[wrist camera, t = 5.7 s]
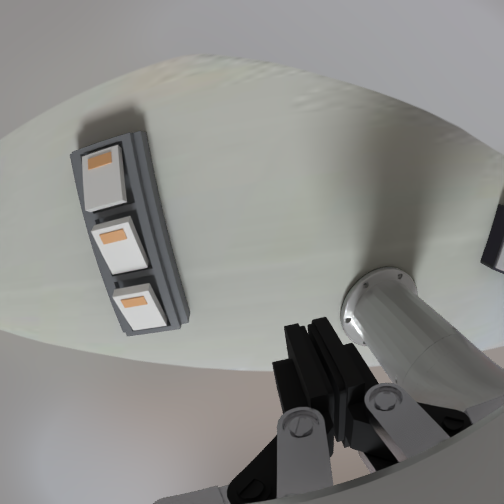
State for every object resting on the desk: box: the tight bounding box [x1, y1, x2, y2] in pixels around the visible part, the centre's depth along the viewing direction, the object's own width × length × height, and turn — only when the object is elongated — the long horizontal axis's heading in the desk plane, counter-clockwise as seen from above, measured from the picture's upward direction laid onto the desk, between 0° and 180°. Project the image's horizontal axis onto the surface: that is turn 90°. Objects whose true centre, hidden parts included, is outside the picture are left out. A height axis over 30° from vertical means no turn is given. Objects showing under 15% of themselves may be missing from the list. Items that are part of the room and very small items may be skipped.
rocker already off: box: [113, 283, 167, 330], centre depth 33 cm, size 6×4×1 cm
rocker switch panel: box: [70, 131, 190, 336], centre depth 33 cm, size 23×9×4 cm, turn 10°
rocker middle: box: [91, 216, 149, 274], centre depth 30 cm, size 6×4×1 cm
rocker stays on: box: [82, 145, 127, 212], centre depth 28 cm, size 6×4×1 cm
